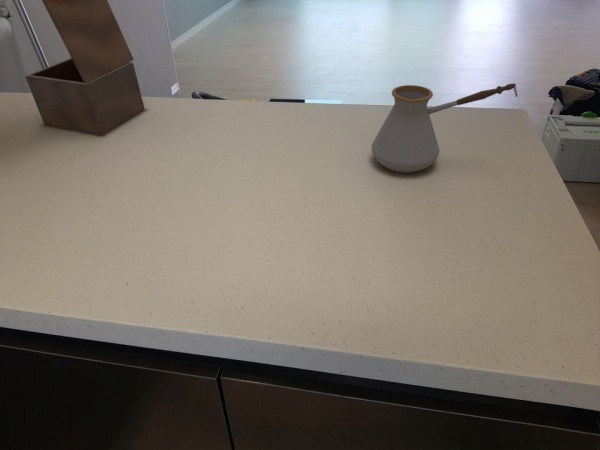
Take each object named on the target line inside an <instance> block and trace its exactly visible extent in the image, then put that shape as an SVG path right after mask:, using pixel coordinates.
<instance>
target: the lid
mask: <svg viewBox="0 0 600 450" xmlns="http://www.w3.org/2000/svg"><path fill="white" fill-rule="evenodd" d="M41 2H42V3H43V6H44V7H45V9H46V11H47V13H48V15H49V18H50V19H51V21H52V23H53V25H54V27H55V29H56V31H57V33H58V35H59V36H60V39H61V40H62V43H63V45H64V46H65V48H66V51H67V52H68V54H69V56H70V58H72V60H73V62H74V64H75V66H76V68H77V70H78V72H79V74H80V75H81V77H82V79H83V81H84V83H85V82H88V81H90V80H92V79H94V78H97V77H99V76H101V75H103V74H105V73H107V72H109V71H112V70H114V69H116V68H118V67H120V66H122V65H124V64H126V63H129V62H133V61H134V60H135V59H134V56H133V54H132V52H131V50H130V47H129V45H128V43H127V41H126V38H125V37H124V34H123V32H122V30H121V27H120V25H119V23H118V21H117V18H116V17H115V14H114V12H113V9H112V7H111V5H110V3H109V1H108V0H41Z"/></svg>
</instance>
